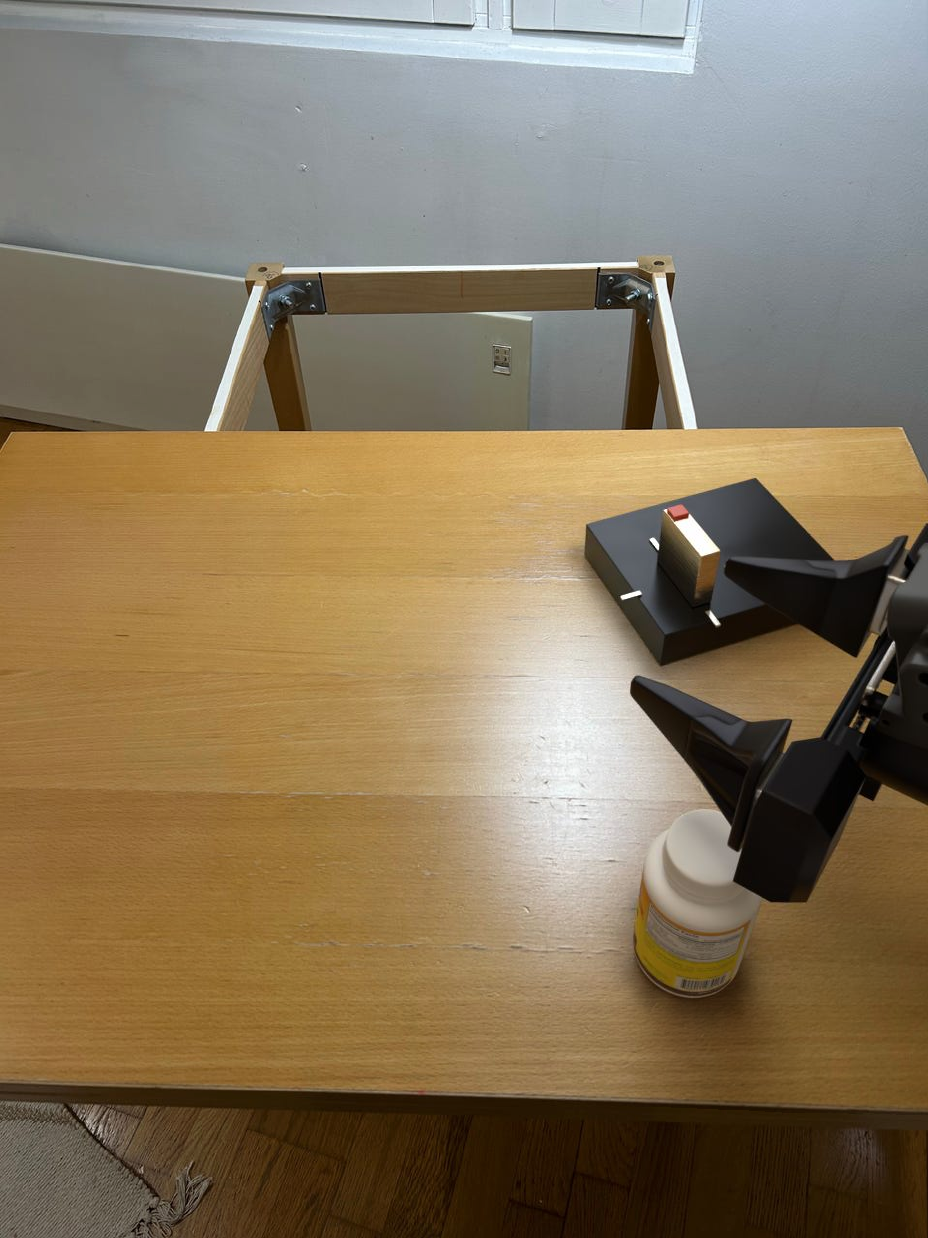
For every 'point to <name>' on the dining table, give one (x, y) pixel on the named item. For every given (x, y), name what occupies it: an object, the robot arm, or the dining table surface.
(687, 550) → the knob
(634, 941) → the supplement bottle
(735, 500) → the console
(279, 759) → the dining table surface
